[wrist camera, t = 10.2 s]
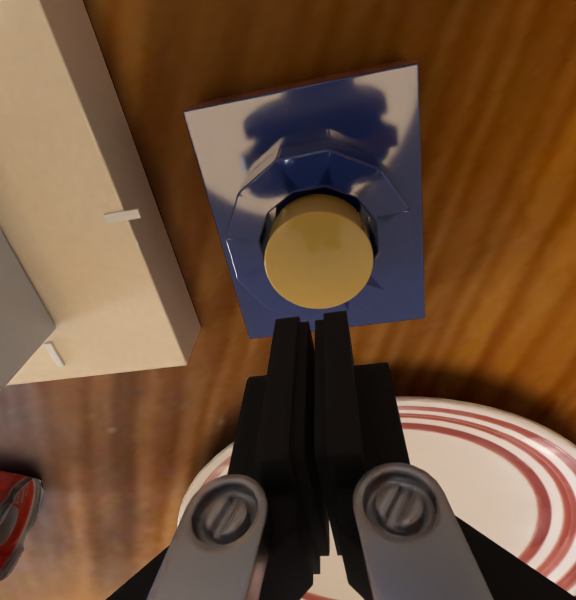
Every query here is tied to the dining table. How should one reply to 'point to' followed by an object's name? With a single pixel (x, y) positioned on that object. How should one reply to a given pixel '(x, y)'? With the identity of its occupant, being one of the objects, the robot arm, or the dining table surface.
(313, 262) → the tap button
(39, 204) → the plate
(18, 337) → the red-tipped grey bar
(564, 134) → the dining table surface
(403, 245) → the tap button block
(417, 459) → the dinner plate
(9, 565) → the beverage can
